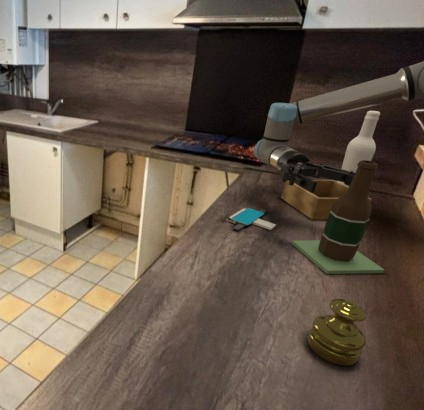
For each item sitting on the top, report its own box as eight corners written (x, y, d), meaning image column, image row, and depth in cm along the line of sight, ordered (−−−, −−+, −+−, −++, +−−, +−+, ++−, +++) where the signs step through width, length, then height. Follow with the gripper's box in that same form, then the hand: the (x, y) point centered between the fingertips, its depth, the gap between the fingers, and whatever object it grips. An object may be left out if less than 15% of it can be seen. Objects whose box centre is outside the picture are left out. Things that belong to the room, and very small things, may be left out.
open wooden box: (364, 219, 111) (372, 198, 108) (311, 219, 110) (318, 198, 107) (326, 198, 127) (333, 179, 124) (280, 198, 126) (286, 179, 123)
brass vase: (346, 374, 57) (368, 326, 53) (298, 345, 63) (315, 299, 59) (364, 354, 61) (385, 307, 57) (317, 328, 67) (334, 283, 63)
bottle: (336, 198, 127) (365, 112, 115) (328, 190, 134) (354, 108, 122) (362, 201, 125) (394, 114, 113) (352, 192, 132) (381, 110, 120)
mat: (383, 273, 84) (384, 269, 84) (326, 274, 83) (327, 270, 83) (340, 243, 97) (341, 240, 96) (291, 243, 96) (292, 240, 95)
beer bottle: (352, 251, 91) (387, 160, 81) (355, 266, 85) (393, 169, 75) (317, 243, 94) (346, 155, 85) (317, 256, 88) (349, 163, 78)
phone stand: (258, 239, 97) (260, 234, 97) (218, 224, 105) (219, 219, 104) (285, 218, 110) (287, 213, 109) (247, 206, 118) (248, 201, 117)
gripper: (325, 174, 110) (382, 201, 91) (247, 173, 108) (287, 201, 89) (332, 150, 107) (393, 173, 87) (252, 149, 105) (295, 173, 86)
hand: (340, 187), depth 88 cm, fingers open, 13 cm apart
